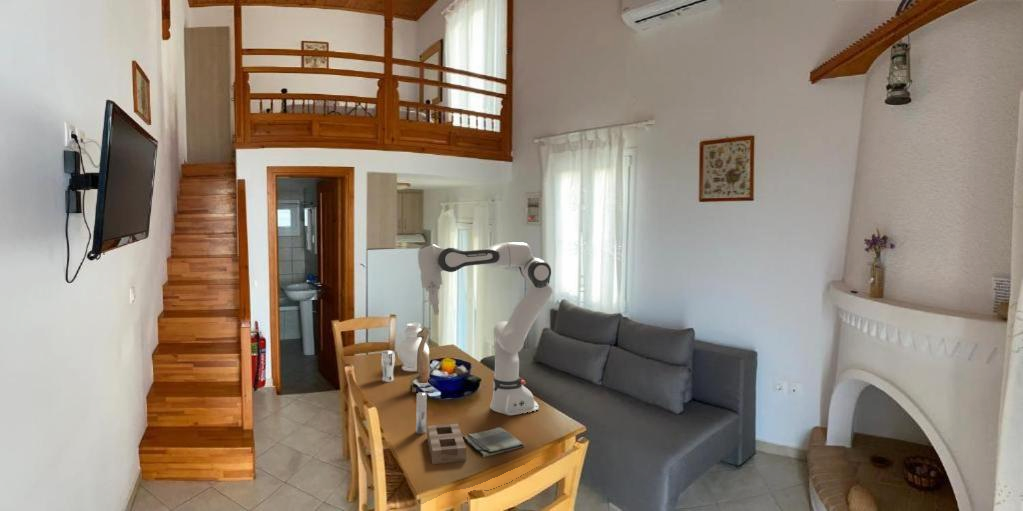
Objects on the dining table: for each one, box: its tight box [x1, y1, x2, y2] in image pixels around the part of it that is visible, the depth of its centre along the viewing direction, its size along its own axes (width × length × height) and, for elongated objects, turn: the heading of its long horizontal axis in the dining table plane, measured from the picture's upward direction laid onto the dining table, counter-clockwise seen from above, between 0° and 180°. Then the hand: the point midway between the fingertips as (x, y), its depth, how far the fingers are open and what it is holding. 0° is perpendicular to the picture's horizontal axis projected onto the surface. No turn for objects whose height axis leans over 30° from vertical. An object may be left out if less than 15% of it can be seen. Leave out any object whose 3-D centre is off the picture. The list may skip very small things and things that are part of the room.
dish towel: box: [462, 426, 525, 458], centre depth 191 cm, size 19×18×3 cm
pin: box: [415, 392, 428, 435], centre depth 197 cm, size 4×4×16 cm
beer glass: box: [381, 349, 396, 383], centre depth 254 cm, size 7×7×15 cm
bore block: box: [426, 423, 467, 465], centre depth 184 cm, size 20×12×5 cm, turn 15°
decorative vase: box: [396, 322, 430, 372], centre depth 275 cm, size 18×18×25 cm
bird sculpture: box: [411, 326, 431, 393], centre depth 243 cm, size 11×12×32 cm
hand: (436, 313), depth 211 cm, fingers open, 8 cm apart
